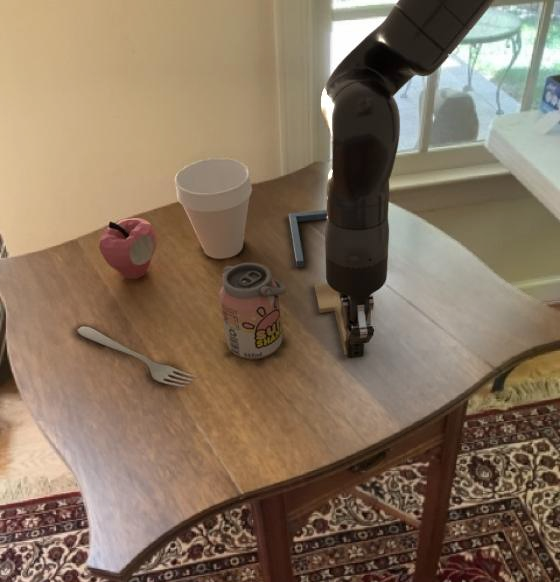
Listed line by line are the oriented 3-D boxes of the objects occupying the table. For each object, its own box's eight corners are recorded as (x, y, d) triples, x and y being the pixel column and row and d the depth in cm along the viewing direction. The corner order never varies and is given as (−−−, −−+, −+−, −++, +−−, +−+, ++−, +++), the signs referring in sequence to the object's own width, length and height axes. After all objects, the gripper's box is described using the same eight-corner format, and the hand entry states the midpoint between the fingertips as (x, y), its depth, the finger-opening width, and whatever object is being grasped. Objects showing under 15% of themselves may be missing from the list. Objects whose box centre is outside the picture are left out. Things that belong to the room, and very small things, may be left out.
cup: (218, 277, 108) (206, 203, 99) (174, 249, 115) (158, 178, 106) (272, 245, 114) (266, 172, 104) (227, 221, 121) (217, 150, 111)
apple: (126, 295, 106) (111, 243, 100) (98, 274, 111) (82, 223, 104) (174, 269, 111) (162, 217, 104) (145, 250, 116) (132, 199, 109)
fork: (87, 323, 102) (84, 314, 101) (202, 384, 91) (200, 374, 89) (71, 334, 100) (67, 325, 99) (186, 398, 89) (184, 388, 88)
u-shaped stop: (371, 260, 109) (371, 253, 108) (296, 267, 109) (296, 261, 108) (357, 212, 120) (357, 206, 119) (289, 219, 120) (288, 213, 119)
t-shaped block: (377, 352, 93) (378, 337, 91) (328, 357, 93) (328, 342, 91) (358, 284, 104) (359, 270, 102) (315, 289, 104) (314, 274, 102)
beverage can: (260, 314, 101) (252, 247, 92) (300, 337, 96) (296, 269, 88) (215, 345, 96) (203, 278, 88) (255, 371, 92) (246, 303, 83)
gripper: (399, 276, 74) (391, 385, 86) (377, 216, 84) (373, 321, 95) (333, 283, 74) (334, 391, 86) (318, 222, 83) (321, 326, 95)
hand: (354, 354), depth 91 cm, fingers closed
